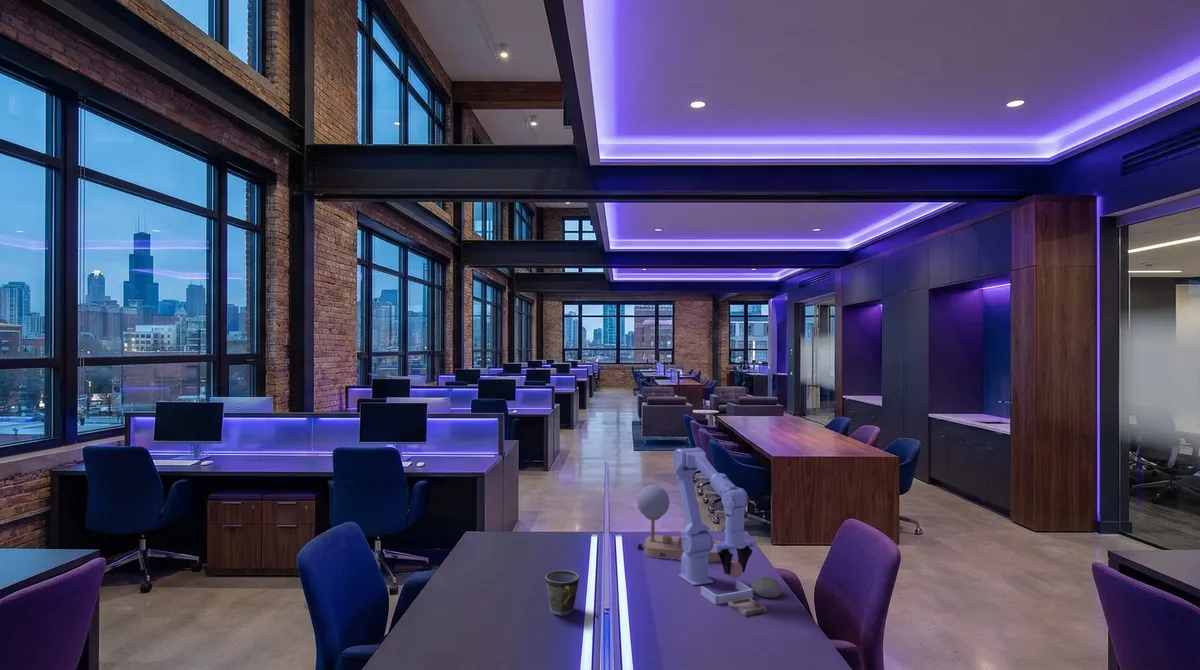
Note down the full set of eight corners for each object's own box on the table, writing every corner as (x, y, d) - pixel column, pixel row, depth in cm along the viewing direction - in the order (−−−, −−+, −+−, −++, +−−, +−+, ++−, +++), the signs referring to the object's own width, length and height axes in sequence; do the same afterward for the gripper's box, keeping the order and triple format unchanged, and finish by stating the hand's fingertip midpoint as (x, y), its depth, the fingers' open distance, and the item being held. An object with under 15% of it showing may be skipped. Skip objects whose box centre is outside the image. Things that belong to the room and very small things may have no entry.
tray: (727, 605, 178) (728, 601, 178) (749, 601, 182) (749, 597, 182) (744, 616, 171) (744, 611, 171) (766, 611, 174) (766, 607, 174)
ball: (722, 575, 184) (723, 559, 184) (735, 573, 186) (735, 557, 186) (732, 581, 179) (732, 564, 179) (746, 579, 181) (746, 562, 181)
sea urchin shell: (785, 595, 183) (767, 575, 184) (767, 611, 184) (748, 591, 185) (782, 584, 192) (765, 564, 193) (765, 599, 192) (747, 580, 194)
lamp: (721, 548, 232) (722, 484, 233) (723, 564, 215) (724, 494, 216) (638, 542, 237) (639, 480, 238) (633, 557, 220) (635, 489, 221)
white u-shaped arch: (700, 594, 186) (700, 586, 186) (737, 588, 192) (737, 580, 192) (716, 604, 179) (716, 596, 179) (753, 597, 184) (753, 589, 185)
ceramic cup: (540, 605, 175) (541, 572, 175) (572, 601, 179) (573, 568, 179) (552, 624, 163) (553, 588, 163) (586, 619, 166) (587, 584, 167)
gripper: (723, 534, 176) (722, 580, 176) (761, 529, 182) (761, 573, 182) (709, 528, 183) (709, 572, 182) (747, 523, 189) (746, 566, 188)
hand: (734, 572), depth 182 cm, fingers closed on ball, 5 cm apart
